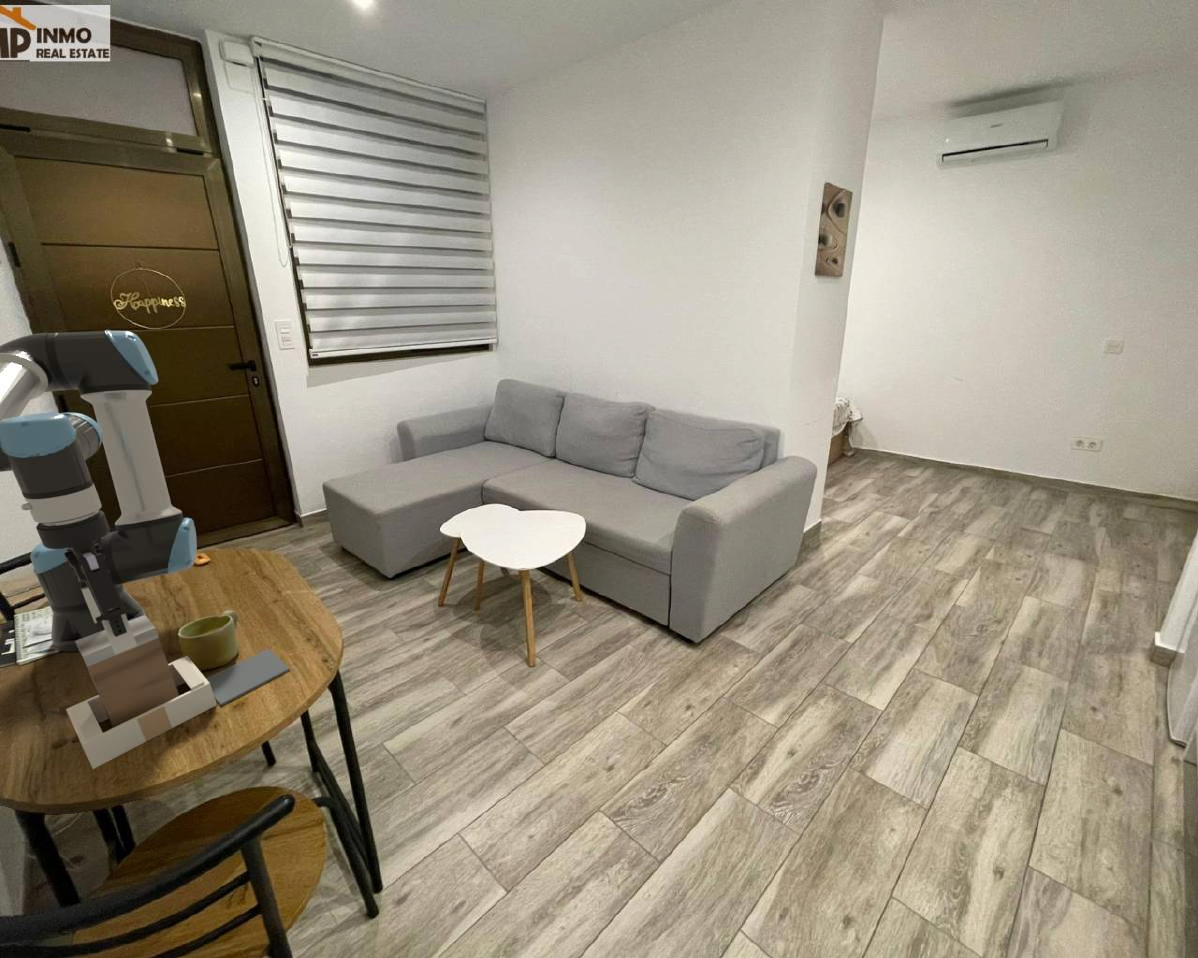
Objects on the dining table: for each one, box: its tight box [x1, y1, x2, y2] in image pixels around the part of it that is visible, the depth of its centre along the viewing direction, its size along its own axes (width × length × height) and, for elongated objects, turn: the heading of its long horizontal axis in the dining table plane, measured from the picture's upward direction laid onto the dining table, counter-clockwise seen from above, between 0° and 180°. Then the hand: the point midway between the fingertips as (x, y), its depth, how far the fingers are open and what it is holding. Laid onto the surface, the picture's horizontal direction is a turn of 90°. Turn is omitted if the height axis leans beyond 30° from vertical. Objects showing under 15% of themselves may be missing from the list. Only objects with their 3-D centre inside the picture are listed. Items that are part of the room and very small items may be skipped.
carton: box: [65, 656, 218, 770], centre depth 92 cm, size 12×17×5 cm
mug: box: [177, 609, 239, 672], centre depth 108 cm, size 12×10×10 cm
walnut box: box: [75, 614, 180, 728], centre depth 90 cm, size 6×9×18 cm
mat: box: [205, 648, 291, 706], centre depth 103 cm, size 10×12×1 cm
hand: (115, 633), depth 87 cm, fingers open, 13 cm apart
